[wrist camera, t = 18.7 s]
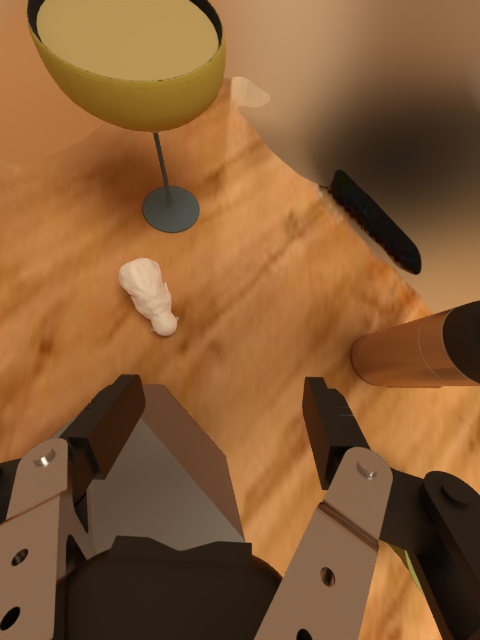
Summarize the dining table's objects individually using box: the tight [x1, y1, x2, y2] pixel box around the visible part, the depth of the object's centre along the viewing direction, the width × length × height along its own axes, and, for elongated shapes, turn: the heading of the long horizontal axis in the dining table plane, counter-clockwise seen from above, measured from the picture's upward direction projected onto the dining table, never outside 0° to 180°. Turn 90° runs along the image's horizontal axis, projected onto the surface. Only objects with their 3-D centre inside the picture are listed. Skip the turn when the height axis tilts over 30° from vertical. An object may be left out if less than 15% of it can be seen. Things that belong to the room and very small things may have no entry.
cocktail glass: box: [26, 0, 225, 233], centre depth 34 cm, size 18×18×25 cm
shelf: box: [47, 385, 245, 554], centre depth 23 cm, size 14×27×20 cm, turn 134°
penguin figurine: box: [118, 258, 179, 336], centre depth 36 cm, size 6×8×12 cm
